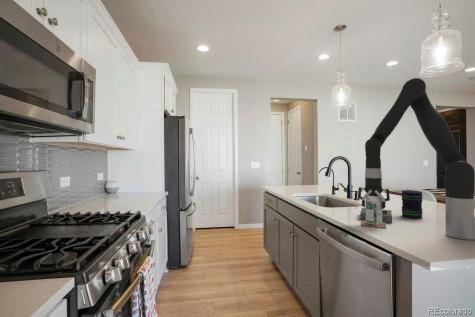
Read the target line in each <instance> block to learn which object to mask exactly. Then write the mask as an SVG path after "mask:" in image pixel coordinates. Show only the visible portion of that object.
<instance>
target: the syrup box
mask: <svg viewBox="0 0 475 317" xmlns="http://www.w3.org/2000/svg"><path fill="white" fill-rule="evenodd" d="M365 208H366V223H369V224H372V225H380V224H382V210H383V209H382V199H381V198H380V197H379V196H369V195H368V196H367V197H366V198H365Z"/></svg>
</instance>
